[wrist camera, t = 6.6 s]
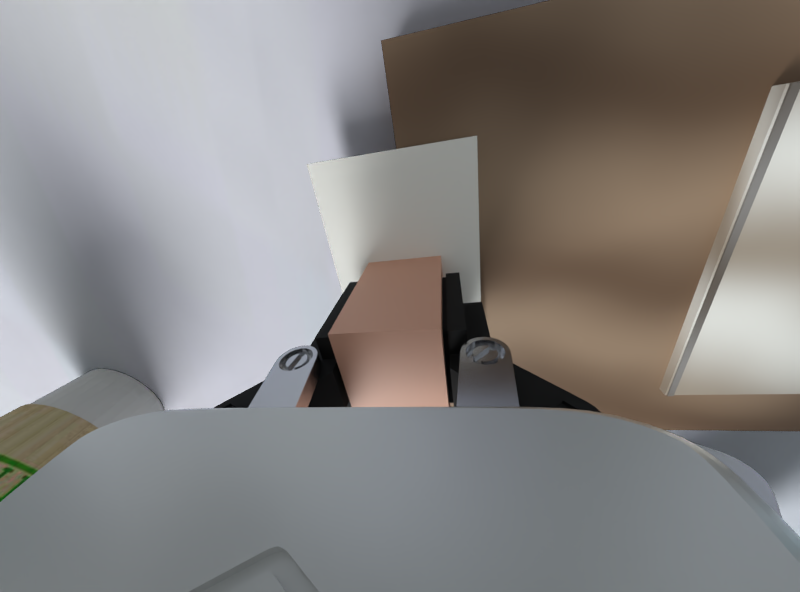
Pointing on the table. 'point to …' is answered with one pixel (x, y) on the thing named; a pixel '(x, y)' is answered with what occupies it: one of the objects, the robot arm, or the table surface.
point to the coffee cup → (66, 421)
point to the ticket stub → (399, 264)
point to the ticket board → (630, 196)
